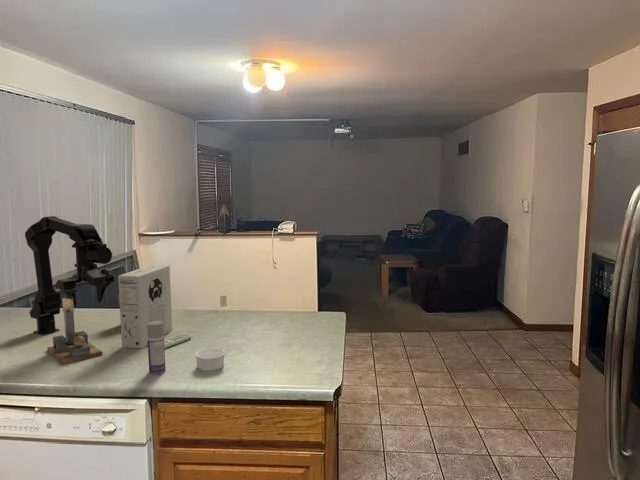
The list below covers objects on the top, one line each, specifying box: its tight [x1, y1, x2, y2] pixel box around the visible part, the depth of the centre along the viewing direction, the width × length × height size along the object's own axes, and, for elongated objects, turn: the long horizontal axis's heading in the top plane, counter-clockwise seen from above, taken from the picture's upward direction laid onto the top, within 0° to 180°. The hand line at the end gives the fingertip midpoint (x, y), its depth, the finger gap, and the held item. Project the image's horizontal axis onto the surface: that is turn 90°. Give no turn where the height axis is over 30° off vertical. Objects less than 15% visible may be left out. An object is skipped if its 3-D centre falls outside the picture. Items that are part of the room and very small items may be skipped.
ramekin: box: [195, 347, 226, 372], centre depth 158 cm, size 9×9×4 cm
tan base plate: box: [46, 330, 103, 365], centre depth 170 cm, size 17×12×7 cm
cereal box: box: [117, 264, 173, 349], centre depth 184 cm, size 22×8×25 cm, turn 168°
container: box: [147, 321, 167, 375], centre depth 153 cm, size 5×5×15 cm
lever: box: [61, 297, 76, 346], centre depth 172 cm, size 3×4×16 cm
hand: (87, 304), depth 181 cm, fingers open, 9 cm apart
